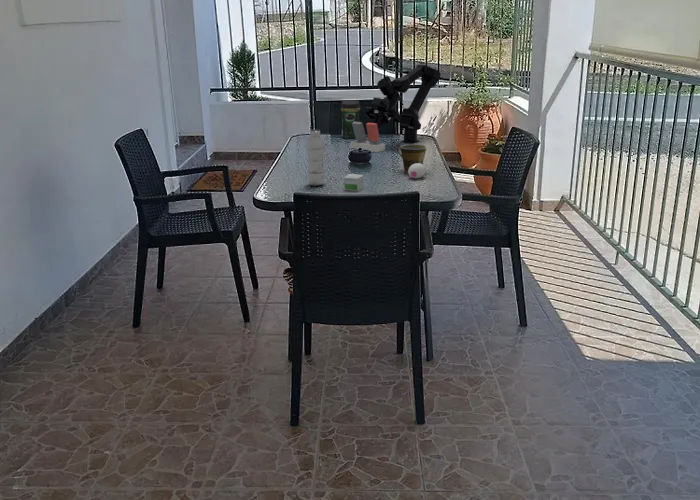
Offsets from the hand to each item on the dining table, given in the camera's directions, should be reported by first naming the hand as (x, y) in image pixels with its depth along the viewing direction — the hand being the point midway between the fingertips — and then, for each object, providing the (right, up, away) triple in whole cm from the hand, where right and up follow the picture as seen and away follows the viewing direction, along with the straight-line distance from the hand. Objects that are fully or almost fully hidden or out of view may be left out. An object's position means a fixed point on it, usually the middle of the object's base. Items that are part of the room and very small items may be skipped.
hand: (373, 129), depth 292 cm
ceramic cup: (+13, -24, -36) cm, 45 cm away
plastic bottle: (-23, -31, -55) cm, 67 cm away
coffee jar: (-10, +2, +35) cm, 36 cm away
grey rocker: (-6, -3, +7) cm, 10 cm away
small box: (-9, -33, -60) cm, 69 cm away
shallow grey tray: (-3, -8, +6) cm, 10 cm away
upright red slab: (0, -5, +2) cm, 5 cm away
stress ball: (+14, -27, -47) cm, 56 cm away
